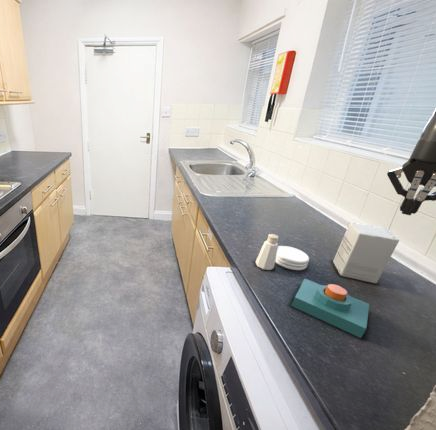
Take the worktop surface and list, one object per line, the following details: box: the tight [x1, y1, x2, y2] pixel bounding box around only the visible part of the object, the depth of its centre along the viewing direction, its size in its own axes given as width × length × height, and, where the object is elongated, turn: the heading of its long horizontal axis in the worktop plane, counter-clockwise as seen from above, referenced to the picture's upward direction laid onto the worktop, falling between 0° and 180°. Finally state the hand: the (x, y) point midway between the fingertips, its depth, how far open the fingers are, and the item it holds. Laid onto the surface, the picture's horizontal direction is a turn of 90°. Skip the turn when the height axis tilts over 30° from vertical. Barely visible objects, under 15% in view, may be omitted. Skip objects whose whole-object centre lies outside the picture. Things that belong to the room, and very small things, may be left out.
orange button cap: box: [325, 283, 348, 301], centre depth 66 cm, size 4×4×2 cm
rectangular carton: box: [332, 221, 400, 284], centre depth 80 cm, size 9×9×15 cm
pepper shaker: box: [255, 233, 279, 271], centre depth 83 cm, size 5×5×11 cm
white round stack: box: [275, 245, 310, 271], centre depth 87 cm, size 10×10×4 cm
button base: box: [291, 278, 370, 339], centre depth 67 cm, size 14×11×5 cm
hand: (405, 213), depth 63 cm, fingers closed
